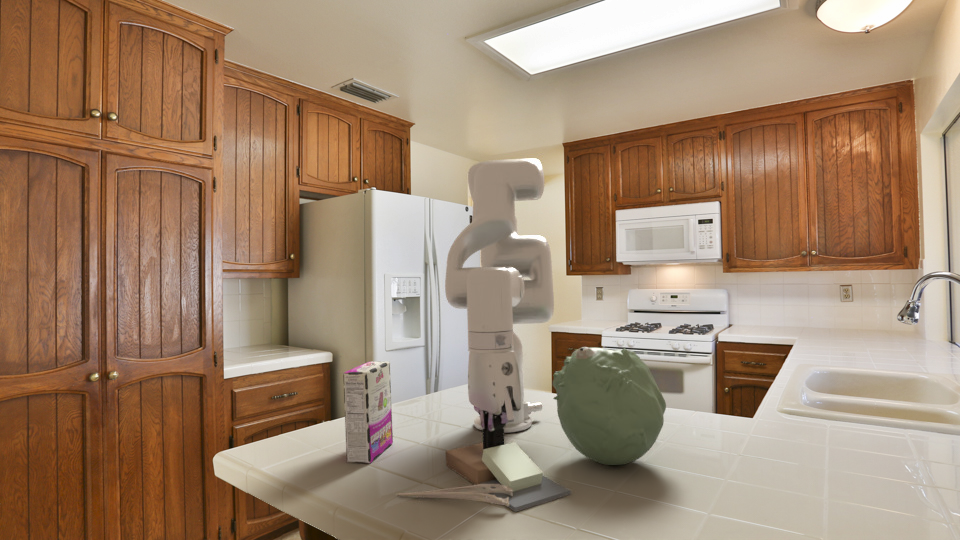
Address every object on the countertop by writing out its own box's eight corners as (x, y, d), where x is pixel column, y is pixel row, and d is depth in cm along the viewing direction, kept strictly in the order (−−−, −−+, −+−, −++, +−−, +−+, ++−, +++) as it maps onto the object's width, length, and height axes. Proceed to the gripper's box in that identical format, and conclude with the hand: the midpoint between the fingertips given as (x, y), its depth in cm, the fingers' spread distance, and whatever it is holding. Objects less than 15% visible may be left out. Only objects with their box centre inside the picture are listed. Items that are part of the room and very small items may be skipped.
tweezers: (514, 493, 73) (512, 479, 73) (508, 509, 68) (506, 495, 68) (404, 496, 77) (402, 483, 77) (391, 512, 73) (389, 498, 73)
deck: (494, 453, 92) (494, 439, 92) (530, 472, 82) (530, 457, 83) (446, 465, 87) (445, 450, 87) (478, 487, 77) (477, 470, 77)
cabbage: (673, 484, 76) (668, 353, 77) (549, 475, 81) (545, 352, 81) (663, 449, 91) (659, 340, 92) (559, 444, 96) (556, 340, 97)
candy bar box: (370, 442, 100) (368, 360, 101) (393, 443, 99) (391, 361, 100) (344, 463, 89) (341, 371, 90) (370, 464, 88) (367, 371, 89)
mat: (531, 473, 82) (531, 469, 82) (570, 494, 74) (570, 490, 74) (479, 487, 77) (479, 483, 77) (515, 511, 69) (514, 507, 69)
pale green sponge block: (512, 452, 83) (514, 442, 83) (541, 483, 77) (543, 472, 76) (481, 460, 80) (483, 449, 80) (508, 493, 73) (510, 481, 73)
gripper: (535, 343, 78) (539, 461, 78) (486, 335, 91) (489, 436, 91) (495, 347, 75) (499, 471, 74) (450, 339, 87) (453, 444, 87)
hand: (493, 452), depth 83 cm, fingers closed
